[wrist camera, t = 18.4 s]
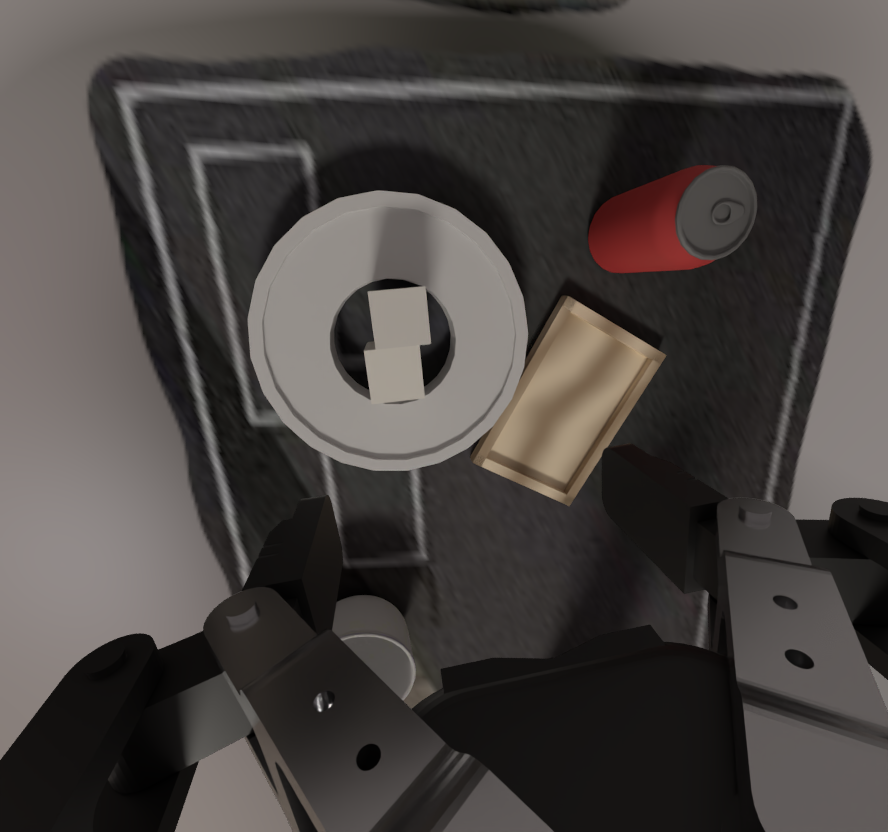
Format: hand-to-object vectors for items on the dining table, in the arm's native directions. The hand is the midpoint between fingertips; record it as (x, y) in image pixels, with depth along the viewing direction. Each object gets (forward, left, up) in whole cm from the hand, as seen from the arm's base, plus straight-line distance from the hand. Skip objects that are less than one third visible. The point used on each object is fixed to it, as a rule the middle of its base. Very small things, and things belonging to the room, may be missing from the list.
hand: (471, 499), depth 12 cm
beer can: (-12, -18, -28) cm, 36 cm away
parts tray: (-16, -2, -28) cm, 32 cm away
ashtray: (+2, 0, -29) cm, 29 cm away
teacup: (-9, +31, -28) cm, 43 cm away
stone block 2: (+1, +1, -25) cm, 25 cm away
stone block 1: (+3, -3, -25) cm, 25 cm away
